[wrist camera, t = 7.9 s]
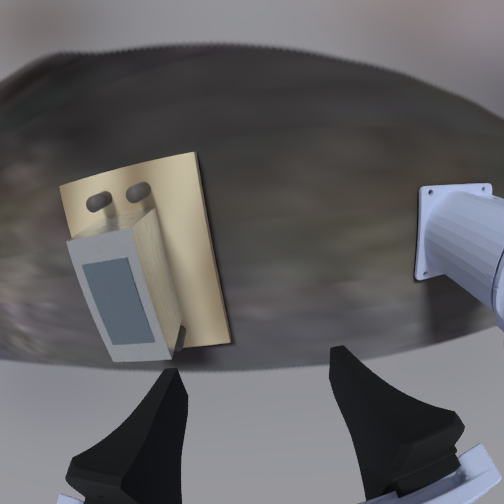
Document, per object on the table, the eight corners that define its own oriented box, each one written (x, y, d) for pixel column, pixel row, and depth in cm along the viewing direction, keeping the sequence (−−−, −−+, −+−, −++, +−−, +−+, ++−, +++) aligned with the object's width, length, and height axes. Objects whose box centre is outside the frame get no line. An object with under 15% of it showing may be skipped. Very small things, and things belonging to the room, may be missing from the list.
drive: (155, 206, 18) (130, 228, 13) (182, 314, 20) (171, 360, 16) (102, 217, 17) (65, 241, 13) (133, 319, 20) (113, 362, 16)
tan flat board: (196, 151, 18) (189, 152, 15) (230, 333, 23) (230, 359, 20) (67, 183, 18) (43, 191, 15) (118, 343, 22) (107, 367, 19)
